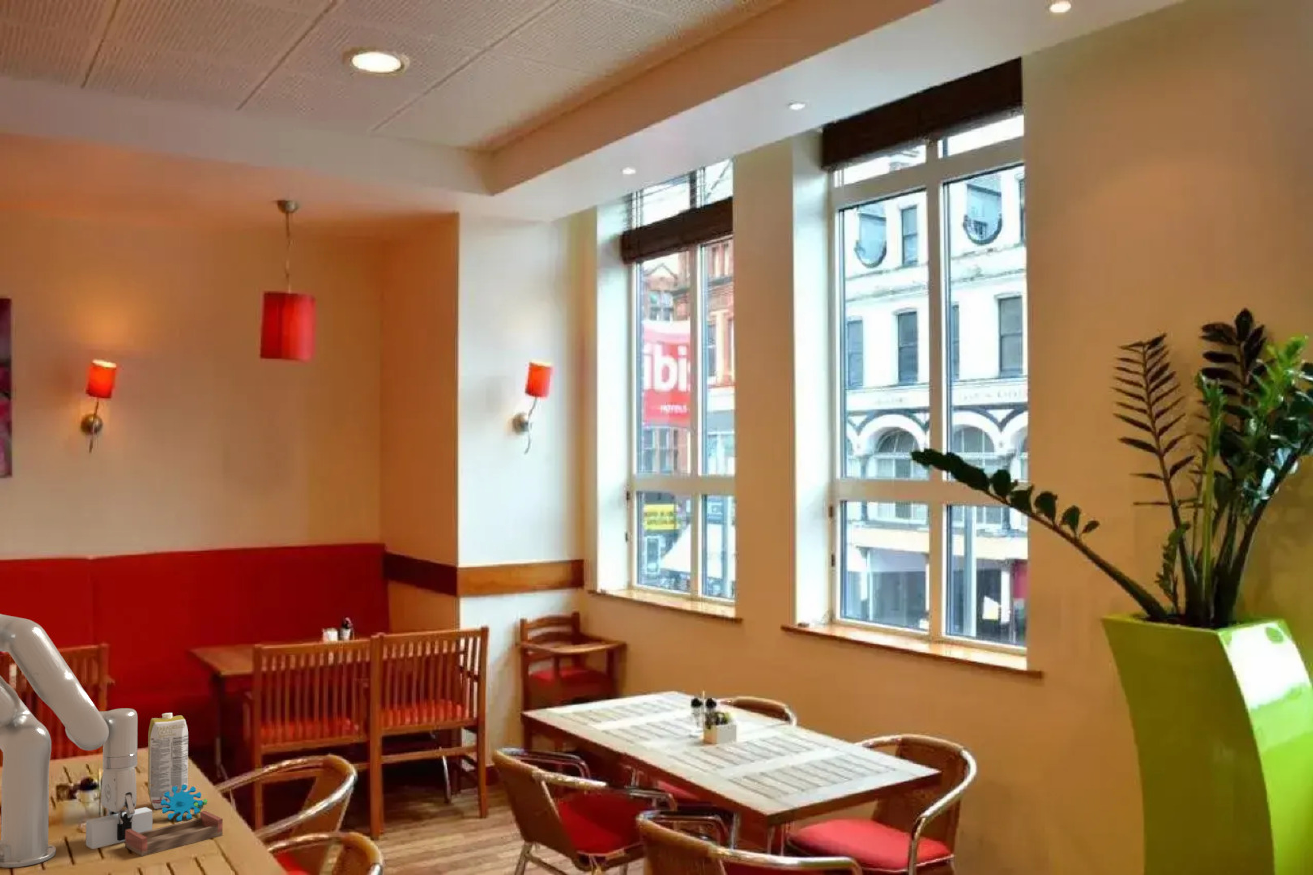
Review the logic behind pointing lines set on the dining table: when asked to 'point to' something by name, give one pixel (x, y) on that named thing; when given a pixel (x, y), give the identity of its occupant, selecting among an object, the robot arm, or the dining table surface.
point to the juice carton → (167, 757)
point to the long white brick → (115, 827)
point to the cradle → (174, 834)
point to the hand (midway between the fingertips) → (119, 835)
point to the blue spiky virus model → (183, 803)
